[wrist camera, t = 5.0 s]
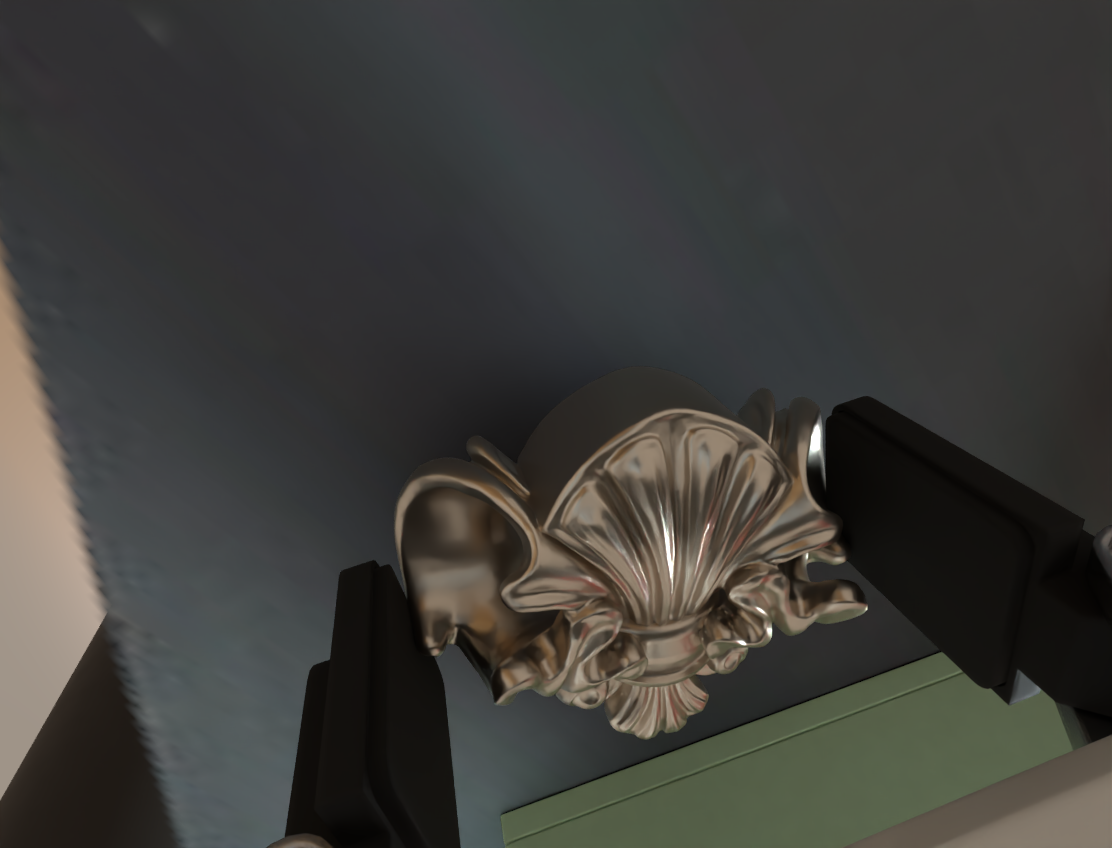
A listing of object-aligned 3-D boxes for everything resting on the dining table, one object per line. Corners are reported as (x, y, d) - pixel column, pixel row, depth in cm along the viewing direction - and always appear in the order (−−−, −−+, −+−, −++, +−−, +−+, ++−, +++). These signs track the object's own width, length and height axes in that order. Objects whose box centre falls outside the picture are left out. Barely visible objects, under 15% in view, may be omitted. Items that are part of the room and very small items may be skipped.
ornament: (430, 685, 13) (445, 876, 9) (362, 378, 9) (348, 509, 6) (780, 602, 14) (894, 742, 11) (822, 312, 11) (1001, 392, 8)
